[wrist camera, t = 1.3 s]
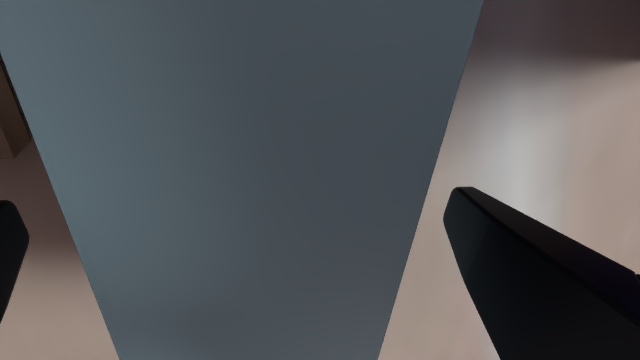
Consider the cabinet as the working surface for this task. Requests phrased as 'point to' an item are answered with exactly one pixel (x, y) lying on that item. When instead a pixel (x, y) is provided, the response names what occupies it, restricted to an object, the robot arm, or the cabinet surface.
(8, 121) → the cleat stand
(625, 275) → the robot arm
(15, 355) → the cabinet surface
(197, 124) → the light blue block
